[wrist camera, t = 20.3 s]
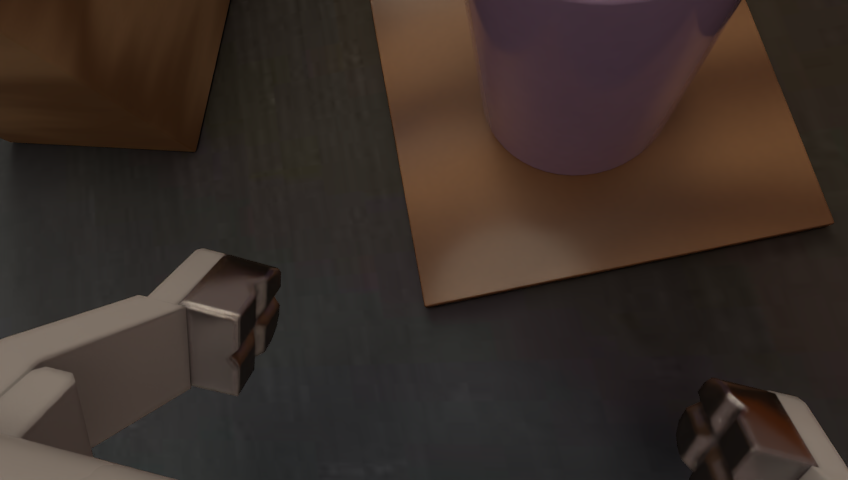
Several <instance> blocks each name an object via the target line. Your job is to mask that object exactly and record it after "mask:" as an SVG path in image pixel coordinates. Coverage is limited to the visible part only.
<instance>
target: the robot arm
mask: <svg viewBox="0 0 848 480" xmlns="http://www.w3.org/2000/svg"><path fill="white" fill-rule="evenodd" d="M280 287H281V272H280V270H279V269H278V268H276V267H272V266H268V265H265V264H261V263H258V262H254V261H250V260H247V259H243V258H239V257H236V256H232V255H226V254H224V253H220V252H216V251H212V250H209V249H205V248H202V249H198V250H196V251H194V252H193V253H192V254H191V255H190V256H189V257H188V258H187V259H186V260H185V261H184V262H183V263H182V264H181V265H180V266H179V267H178V268H177V269H176V270H175V271H173V272H172V273H171V274H170V275H169V276H168V277H167V278H166V279H165V280H164V281H163V282H162V283H161V284H160V285H159V286H158V287H157V288H156V289H155V290H154V291H153V292H152V293H151V294H149V295H148V296H147V297H145V296H141V295H137V296H134V297H131V298H128V299H125V300H122V301H118V302H115V303H112V304H109V305H106V306H103V307H100V308H97V309H93V310H90V311H87V312H84V313H81V314H78V315H75V316H72V317H68V318H65V319H62V320H59V321H56V322H53V323H50V324H47V325H43V326H40V327H37V328H34V329H31V330H28V331H25V332H22V333H18V334H15V335H12V336H9V337H6V338H3V339H0V480H177V479H173V478H169V477H165V476H161V475H158V474H154V473H150V472H146V471H143V470H139V469H135V468H131V467H127V466H124V465H120V464H116V463H112V462H109V461H105V460H101V459H97V458H93V454H92V450H91V448H93V447H94V446H96V445H98V444H99V443H101V442H103V441H104V440H106V439H108V438H109V437H111V436H113V435H114V434H116V433H118V432H119V431H121V430H123V429H124V428H126V427H128V426H129V425H131V424H133V423H134V422H136V421H138V420H139V419H141V418H142V417H144V416H146V415H147V414H149V413H151V412H152V411H154V410H156V409H157V408H159V407H161V406H162V405H164V404H166V403H167V402H169V401H171V400H172V399H174V398H176V397H177V396H179V395H181V394H182V393H184V392H186V391H187V390H189V389H191V386H195V387H199V388H204V389H208V390H212V391H217V392H221V393H226V394H230V395H234V396H238V395H239V393H240V392H241V390H242V388H243V387H244V385H245V384H246V382H247V380H248V379H249V377H250V375H251V374H252V372H253V371H254V364H255V357H256V356H258V355H260V354H262V353H264V352H265V351H266V349H267V347H268V345H269V344H270V342H271V340H272V337H273V335H274V332H275V329H276V327H277V322H278V317H279V306H280V305H279V303H278V302H277V300H276V299H275V297H274V296H275V294H276V293H277V291H278V290H279V288H280ZM698 394H699V398H700V402H699V403H697V404H694V405H692V406H690V407H688V408H686V410H685V411H684V413H683V414H682V416H681V418H680V419H679V422H678V427H677V432H676V441H677V448H678V451H679V455H680V458H681V459H682V460H683V462H684V463H685V464H686V465H687V466H688V467H689V468H690V469H691V470H692V471H693V472H692V474H691V476H690V478H689V480H848V468H847V466H846V465H845V463H844V462H843V460H842V459H841V457H840V456H839V454H838V452H837V451H836V449H835V448H834V446H833V445H832V443H831V442H830V440H829V439H828V437H827V435H826V434H825V432H824V431H823V429H822V428H821V426H820V425H819V423H818V422H817V420H816V419H815V417H814V415H813V414H812V412H811V411H810V409H809V408H808V406H807V405H806V403H804V402H803V401H802V400H801V399H799V398H798V397H795V396H791V395H787V394H782V393H778V392H773V391H769V390H768V391H765V390H761V389H757V388H753V387H749V386H745V385H741V384H737V383H733V382H729V381H725V380H721V379H717V378H711V379H709V380H707V381H706V382H704V384H703V385H702V386H701V388H700V389H699V391H698Z"/></svg>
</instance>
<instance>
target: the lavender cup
mask: <svg viewBox="0 0 848 480" xmlns="http://www.w3.org/2000/svg"><path fill="white" fill-rule="evenodd" d="M741 1H742V0H464V2H465V7H466V13H467V19H468V25H469V31H470V36H471V42H472V48H473V54H474V59H475V65H476V71H477V77H478V83H479V88H480V94H481V100H482V106H483V111H484V114H485V118H486V120H487V123H488V125H489V127H490V129H491V131H492V132H493V134H494V136H495V137H496V139H497V140H498V141H499V142H500V143H501V145H502V146H503V147H504V148H505V149H506V150H507V151H508V152H510V153H511V154H512V155H513V156H515V157H516V158H517V159H519V160H520V161H522V162H524V163H526V164H528V165H530V166H532V167H534V168H537V169H539V170H542V171H545V172H550V173H554V174H560V175H588V174H595V173H600V172H603V171H607V170H611V169H613V168H615V167H618V166H620V165H623V164H624V163H626V162H628V161H630V160H632V159H633V158H635V157H636V156H638V155H639V154H640V153H642V152H643V151H644V150H645V149H646V148H647V147H648V146H650V145H651V144H652V143H653V142H654V140H655V139H656V138H657V137H658V135H659V134H660V133H661V131H662V130H663V128H664V127H665V125H666V123H667V122H668V120H669V118H670V117H671V115H672V114H673V112H674V110H675V109H676V107H677V105H678V104H679V102H680V100H681V99H682V97H683V96H684V94H685V92H686V91H687V89H688V87H689V86H690V84H691V82H692V81H693V79H694V78H695V76H696V74H697V73H698V71H699V69H700V68H701V66H702V64H703V63H704V61H705V60H706V58H707V56H708V55H709V53H710V51H711V50H712V48H713V47H714V45H715V43H716V42H717V40H718V38H719V37H720V35H721V33H722V32H723V30H724V29H725V27H726V25H727V24H728V22H729V20H730V19H731V17H732V15H733V14H734V12H735V11H736V9H737V7H738V6H739V4H740V2H741Z"/></svg>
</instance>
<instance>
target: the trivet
mask: <svg viewBox="0 0 848 480" xmlns="http://www.w3.org/2000/svg"><path fill="white" fill-rule="evenodd" d="M370 4H371V10H372V15H373V21H374V27H375V32H376V38H377V43H378V49H379V54H380V60H381V66H382V71H383V77H384V82H385V88H386V93H387V99H388V105H389V110H390V116H391V121H392V127H393V133H394V138H395V144H396V149H397V155H398V160H399V166H400V172H401V177H402V183H403V188H404V194H405V199H406V205H407V211H408V216H409V222H410V227H411V233H412V238H413V244H414V250H415V255H416V261H417V266H418V272H419V277H420V283H421V289H422V294H423V300H424V305H425V307H427V308H429V307H434V306H439V305H444V304H449V303H454V302H458V301H463V300H468V299H473V298H478V297H483V296H488V295H493V294H498V293H503V292H507V291H512V290H517V289H522V288H527V287H532V286H537V285H542V284H547V283H552V282H556V281H561V280H566V279H571V278H576V277H581V276H586V275H591V274H596V273H601V272H605V271H610V270H615V269H620V268H625V267H630V266H635V265H640V264H645V263H650V262H654V261H659V260H664V259H669V258H674V257H679V256H684V255H689V254H694V253H699V252H704V251H708V250H713V249H718V248H723V247H728V246H733V245H738V244H743V243H748V242H753V241H757V240H762V239H767V238H772V237H777V236H782V235H787V234H792V233H797V232H802V231H806V230H811V229H816V228H821V227H826V226H829V225H831V224H833V223H834V220H833V218H832V215H831V213H830V210H829V208H828V205H827V203H826V200H825V198H824V195H823V193H822V190H821V188H820V185H819V183H818V180H817V178H816V175H815V173H814V170H813V168H812V165H811V163H810V160H809V158H808V155H807V153H806V150H805V148H804V145H803V143H802V140H801V138H800V135H799V133H798V130H797V128H796V125H795V123H794V120H793V118H792V115H791V113H790V110H789V108H788V105H787V103H786V100H785V98H784V95H783V93H782V90H781V88H780V85H779V83H778V80H777V78H776V75H775V73H774V70H773V68H772V65H771V63H770V60H769V58H768V55H767V53H766V50H765V48H764V45H763V43H762V40H761V38H760V35H759V33H758V30H757V28H756V25H755V23H754V20H753V18H752V15H751V13H750V10H749V8H748V5H747V3H746V0H742V1H741V2H740V4H739V6H738V7H737V9H736V11H735V12H734V14H733V15H732V17H731V19H730V20H729V22H728V24H727V25H726V27H725V29H724V30H723V32H722V33H721V35H720V37H719V38H718V40H717V42H716V43H715V45H714V47H713V48H712V50H711V51H710V53H709V55H708V56H707V58H706V60H705V61H704V63H703V64H702V66H701V68H700V69H699V71H698V73H697V74H696V76H695V78H694V79H693V81H692V82H691V84H690V86H689V87H688V89H687V91H686V92H685V94H684V96H683V97H682V99H681V100H680V102H679V104H678V105H677V107H676V109H675V110H674V112H673V114H672V115H671V117H670V118H669V120H668V122H667V123H666V125H665V127H664V128H663V130H662V131H661V133H660V134H659V135H658V137H657V138H656V139H655V140H654V142H653V143H652V144H651V145H650V146H648V147H647V148H646V149H645V150H644V151H643V152H642V153H640V154H639V155H638V156H636V157H635V158H633V159H632V160H630V161H628V162H626V163H624V164H623V165H620V166H618V167H615V168H613V169H611V170H607V171H603V172H600V173H595V174H588V175H560V174H554V173H550V172H545V171H542V170H539V169H537V168H534V167H532V166H530V165H528V164H526V163H524V162H522V161H520V160H519V159H517V158H516V157H515V156H513V155H512V154H511V153H510V152H508V151H507V150H506V149H505V148H504V147H503V146H502V145H501V143H500V142H499V141H498V140H497V139H496V137H495V136H494V134H493V132H492V131H491V129H490V127H489V125H488V123H487V120H486V118H485V114H484V111H483V106H482V100H481V94H480V88H479V83H478V77H477V71H476V65H475V59H474V54H473V48H472V42H471V36H470V31H469V25H468V19H467V13H466V7H465V2H464V0H370Z"/></svg>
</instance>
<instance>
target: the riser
mask: <svg viewBox="0 0 848 480" xmlns="http://www.w3.org/2000/svg"><path fill="white" fill-rule="evenodd" d="M229 3H230V0H0V138H2V139H4V140H6V141H9V142H18V143H36V144H55V145H74V146H93V147H112V148H131V149H150V150H168V151H187V152H195V151H196V149H197V144H198V140H199V136H200V131H201V127H202V122H203V118H204V113H205V109H206V105H207V100H208V96H209V91H210V87H211V82H212V78H213V74H214V69H215V65H216V60H217V56H218V51H219V47H220V43H221V38H222V34H223V29H224V25H225V21H226V16H227V12H228V7H229Z"/></svg>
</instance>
